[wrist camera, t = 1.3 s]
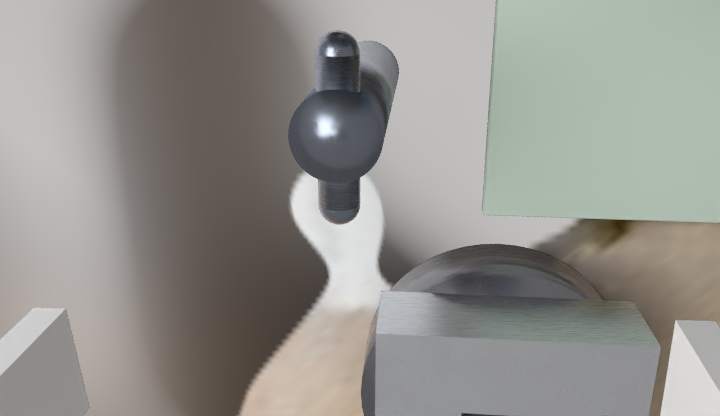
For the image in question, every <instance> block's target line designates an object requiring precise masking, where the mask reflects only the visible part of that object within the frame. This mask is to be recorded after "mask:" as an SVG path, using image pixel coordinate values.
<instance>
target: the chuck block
mask: <svg viewBox="0 0 720 416" xmlns="http://www.w3.org/2000/svg"><path fill="white" fill-rule="evenodd" d="M660 351H661V346H660V344H659V343H658V341H657V339H656V338H655V336H654V334H653V333H652V331H651V329H650V328H649V326H648V324H647V323H646V321H645V319H644V318H643V316H642V314H641V313H640V311H639V310H638V308H637V306H636V305H635V303H634V301H611V300H602V298H601V297H600V295H599V294H598V292H597V291H596V290H595V289H594V288H593V286H592V285H591V284H590V283H589V282H588V281H587V280H586V279H585V278H584V277H583V276H582V275H580V274H579V273H578V272H577V271H576V270H574V269H573V268H571V267H570V266H568V265H567V264H565V263H564V262H562V261H560V260H558V259H556V258H554V257H552V256H550V255H547V254H544V253H542V252H539V251H536V250H533V249H529V248H524V247H519V246H513V245H503V244H482V245H474V246H467V247H462V248H459V249H454V250H451V251H447V252H445V253H442V254H440V255H437V256H435V257H432V258H430V259H428V260H427V261H425V262H423V263H421V264H420V265H418V266H416V267H415V268H414V269H412V270H411V271H409V272H408V273H407V274H405V275H404V276H403V277H402V278H401V279H400V280H399V281H398V282H397V283H396V284H395V285H394V286H393V287H392V288H391V290H390V291H381V298H380V305H379V307H378V309H377V311H376V314H375V316H374V319H373V321H372V324H371V328H370V332H369V337H368V343H367V350H366V356H365V363H364V370H363V376H362V388H361V398H362V408H363V413H364V416H649V412H650V406H651V401H652V395H653V390H654V384H655V379H656V373H657V368H658V362H659V356H660Z"/></svg>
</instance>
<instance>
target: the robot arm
mask: <svg viewBox="0 0 720 416" xmlns="http://www.w3.org/2000/svg"><path fill="white" fill-rule="evenodd" d="M89 408H90V407H89V402H88V398H87V394H86V390H85V386H84V381H83V377H82V373H81V369H80V365H79V361H78V356H77V352H76V348H75V344H74V340H73V335H72V331H71V327H70V323H69V319H68V315H67V310H66V308H33V309H32V310H31V311H30V312H29V313H28V314H27V315H26V316H25V317H24V318H23V319H22V320H21V321H20V322H18V323H17V324H16V325H15V326H14V327H13V328H12V329H11V330H10V331H9V332H8V333H7V334H6V335H5V336H4V337H2V338H1V339H0V416H84V415H85V413H86V412H87V411H88V409H89ZM660 416H720V327H719V326H718V324H717V323H716V321H697V320H675V327H674V333H673V339H672V345H671V352H670V358H669V364H668V370H667V376H666V383H665V389H664V395H663V401H662V408H661V414H660Z"/></svg>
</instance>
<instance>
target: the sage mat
mask: <svg viewBox="0 0 720 416" xmlns="http://www.w3.org/2000/svg"><path fill="white" fill-rule="evenodd" d="M486 142H487V143H486V156H485V171H484V186H483V201H482V211H483V215H495V216H527V217H557V218H558V217H559V218H588V219H620V220H651V221H682V222H713V223H720V0H496V8H495V23H494V38H493V52H492V67H491V82H490V97H489V112H488V127H487V141H486Z"/></svg>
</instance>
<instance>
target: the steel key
mask: <svg viewBox="0 0 720 416" xmlns="http://www.w3.org/2000/svg"><path fill="white" fill-rule="evenodd" d="M315 66H316V87H315V88H314V89H313V90H312V92H311V93H310V94H309V95H308V96H307V97H306V99H305V100H304V101H303V102H302V103H301V105H300V106H299V107H298V108H297V110H296V111H295V113H294V114H293V117H292V119H291V122H290V125H289V135H288V137H289V144H290V148H291V151H292V154H293V156H294V158H295V160H296V161H297V163H298V164H299V165H300V166H301V167H302V168H303V170H305V171H306V172H307V173H308V174H310V175H311V176H313V177H315V178H317V179H318V194H319V209H320V212H321V214H322V216H323V217H324V218H325V219H326V220H327V221H329V222H331V223H334V224H345V223H348V222H350V221H351V220H353V219H354V218H355V217H356V215H357V213H358V212H359V209H360V177H361V176H363V175H365V174H366V173H367V172H368V171H369V170H370V169H371V168H372V167H373V166H374V165H375V163H376V162H377V160H378V158H379V156H380V153H381V150H382V146H383V142H384V137H385V133H386V128H387V124H388V119H389V115H390V111H391V107H392V102H393V98H394V93H395V89H396V85H397V80H398V74H399V71H398V70H399V69H398V64H397V60H396V58H395V56H394V55H393V53H392V52H391V51H390V50H389V49H388V48H387V47H385V46H384V45H382V44H380V43H377V42H373V41H364V42H360V43H357V41H356V40H355V39H354V37H352V36H351V35H350V34H348V33H347V32H344V31H331V32H328V33H327V34H325V35H324V36H322V38H321V39H320V40H319V42H318V44H317V46H316V50H315Z"/></svg>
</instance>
